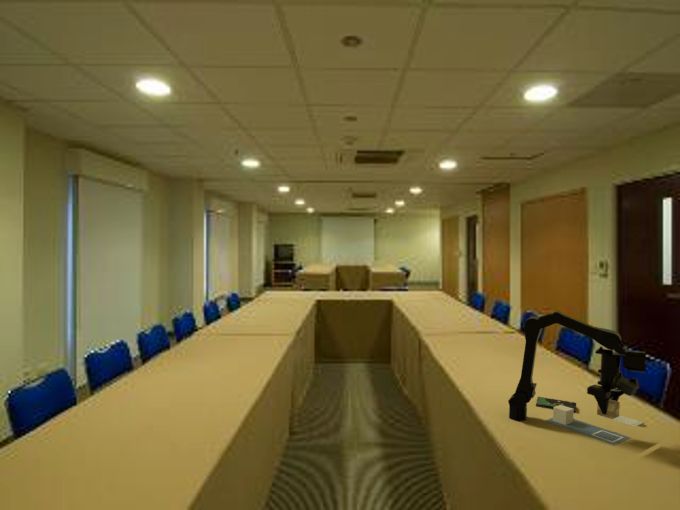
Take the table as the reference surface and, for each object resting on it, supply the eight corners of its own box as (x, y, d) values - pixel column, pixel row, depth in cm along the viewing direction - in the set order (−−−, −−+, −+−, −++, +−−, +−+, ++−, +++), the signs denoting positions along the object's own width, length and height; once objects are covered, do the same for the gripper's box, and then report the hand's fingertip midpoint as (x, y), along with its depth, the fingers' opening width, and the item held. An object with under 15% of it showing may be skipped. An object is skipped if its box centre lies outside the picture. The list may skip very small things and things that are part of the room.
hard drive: (599, 416, 184) (634, 426, 174) (609, 412, 189) (644, 421, 179) (599, 420, 184) (634, 431, 174) (609, 416, 189) (644, 426, 179)
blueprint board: (613, 448, 157) (614, 445, 157) (543, 423, 178) (543, 420, 178) (630, 440, 164) (630, 437, 164) (561, 417, 185) (561, 414, 185)
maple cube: (612, 419, 161) (612, 404, 161) (597, 414, 165) (597, 400, 165) (619, 416, 164) (619, 402, 164) (604, 411, 168) (604, 397, 168)
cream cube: (565, 424, 175) (566, 411, 174) (552, 420, 179) (553, 407, 178) (573, 422, 177) (573, 408, 177) (560, 417, 182) (560, 404, 181)
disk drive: (575, 409, 197) (537, 402, 203) (576, 402, 197) (537, 395, 203) (576, 417, 187) (535, 409, 194) (576, 410, 187) (535, 403, 194)
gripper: (622, 377, 152) (619, 425, 153) (648, 369, 163) (645, 414, 164) (587, 369, 161) (585, 414, 162) (614, 362, 172) (611, 405, 173)
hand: (608, 412), depth 165 cm, fingers closed on maple cube, 5 cm apart
